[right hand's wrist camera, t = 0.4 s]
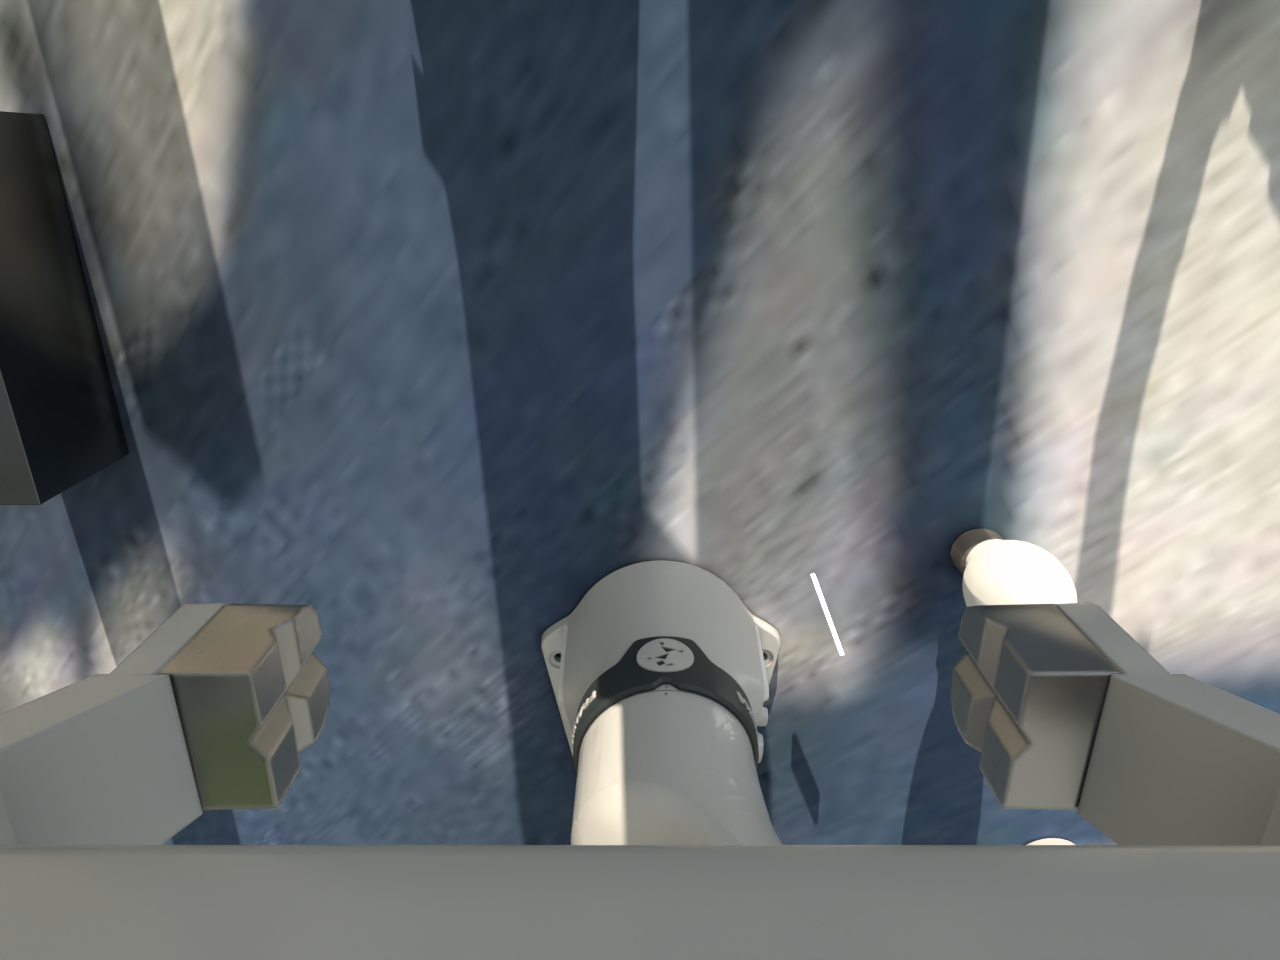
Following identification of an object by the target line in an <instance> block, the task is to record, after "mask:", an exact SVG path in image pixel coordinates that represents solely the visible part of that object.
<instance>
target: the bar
mask: <svg viewBox="0 0 1280 960" xmlns="http://www.w3.org/2000/svg"><path fill="white" fill-rule="evenodd" d="M128 453H129V452H128V448H127V444H126V440H125V436H124V432H123V428H122V424H121V420H120V416H119V412H118V408H117V404H116V400H115V396H114V392H113V388H112V384H111V380H110V376H109V372H108V368H107V364H106V360H105V356H104V352H103V348H102V344H101V340H100V336H99V332H98V328H97V324H96V320H95V316H94V312H93V308H92V304H91V300H90V296H89V292H88V288H87V284H86V280H85V276H84V272H83V268H82V264H81V260H80V256H79V252H78V248H77V244H76V240H75V236H74V232H73V228H72V224H71V220H70V216H69V212H68V208H67V204H66V200H65V196H64V192H63V188H62V184H61V180H60V176H59V172H58V168H57V164H56V160H55V156H54V152H53V148H52V144H51V140H50V136H49V133H48V129H47V125H46V121H45V117H44V115H42V114H28V113H15V112H2V111H0V505H40V504H42V503H44V502H46V501H47V500H49V499H51V498H53V497H54V496H56V495H58V494H60V493H61V492H63V491H65V490H66V489H68V488H70V487H72V486H73V485H75V484H77V483H79V482H80V481H82V480H84V479H86V478H87V477H89V476H91V475H92V474H94V473H96V472H98V471H99V470H101V469H103V468H105V467H106V466H108V465H110V464H112V463H113V462H115V461H117V460H118V459H120V458H122V457H124V456H125V455H127V454H128Z"/></svg>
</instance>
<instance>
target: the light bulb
mask: <svg viewBox="0 0 1280 960" xmlns="http://www.w3.org/2000/svg"><path fill="white" fill-rule="evenodd" d="M951 558H952V561H953V563H954V564H955V566H956V567H957V568H958V569H959V571H960V572H961V573H962V575H963V584H962V587H963V595H964V599H965V602H966V605H967V607H969V606H976V605H1015V604H1065V603H1077V594H1076V589H1075V586H1074V583H1073V581H1072V579H1071V577H1070V575H1069V573H1068V571H1067V570H1066V569H1065V567H1064V566H1063V565H1062V564H1061V563H1060V562H1059V561H1058V560H1057V558H1055V557H1054V556H1053V555H1051V554H1050V553H1049V552H1047V551H1046V550H1044V549H1043V548H1041V547H1038V546H1036V545H1033V544H1031V543H1028V542H1024V541H1017V540H1004V539H1003V538H1002V537H1001V536H1000V535H999V534H998V533H996V532H994V531H992V530H988V529H974V530H970V531H968V532H966V533H964V534H962V535H961V536H960V537H958V538H957V540H956V541H955V542H954V544H953V546H952V549H951Z"/></svg>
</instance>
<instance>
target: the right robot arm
mask: <svg viewBox="0 0 1280 960" xmlns="http://www.w3.org/2000/svg"><path fill="white" fill-rule="evenodd" d="M810 575H811V577H812V580H813V583H814V586H815V588H816V591H817V594H818V597H819V599H820V602H821V605H822V607H823V610H824V613H825V616H826V618H827V621H828V624H829V627H830V629H831V632H832V635H833V637H834V640H835V643H836V646H837V648H838V651H839V653H840V656H842V655H844V652H843V649H842V647H841V644H840V641H839V638H838V636H837V633H836V630H835V627H834V625H833V622H832V619H831V616H830V614H829V611H828V608H827V605H826V603H825V600H824V597H823V594H822V592H821V589H820V586H819V583H818V581H817V578H816V576H815V573H813V574H810ZM321 637H322V634H321V629H320V624H319V619H318V615H317V612H316V611H315V610H314V609H313V608H312V607H311V606H310V605H284V604H229V603H196V604H186V605H182V606H181V607H180V608H179V609H178V610H177V611H176V612H175V613H174V614H173V615H172V616H171V617H169V618H168V619H167V620H166V621H165V622H164V623H163V624H162V625H161V626H160V627H159V628H158V629H157V630H156V631H155V632H154V633H152V634H151V635H150V636H149V637H148V638H147V639H146V640H145V641H144V642H143V643H142V644H141V645H140V646H139V647H138V648H137V649H135V650H134V651H133V652H132V653H131V654H130V655H129V656H128V657H127V658H126V659H125V660H124V661H123V662H122V663H121V664H120V665H119V666H117V667H116V668H115V669H114V670H113V671H112V672H111V673H110V674H95V675H93V676H91V677H88V678H86V679H83V680H81V681H79V682H76V683H74V684H71V685H69V686H67V687H64V688H62V689H59V690H57V691H55V692H52V693H50V694H47V695H45V696H43V697H40V698H38V699H35V700H33V701H31V702H28V703H26V704H23V705H21V706H19V707H16V708H14V709H11V710H9V711H7V712H4V713H2V714H0V960H1280V714H1278V713H1276V712H1273V711H1271V710H1268V709H1266V708H1264V707H1261V706H1259V705H1256V704H1254V703H1252V702H1249V701H1247V700H1244V699H1242V698H1240V697H1237V696H1235V695H1232V694H1230V693H1228V692H1225V691H1223V690H1220V689H1218V688H1216V687H1213V686H1211V685H1209V684H1206V683H1204V682H1201V681H1199V680H1197V679H1194V678H1192V677H1189V676H1187V675H1185V674H1170V673H1169V672H1168V671H1167V670H1166V669H1165V668H1164V667H1163V666H1162V665H1160V664H1159V663H1158V662H1157V661H1156V660H1155V659H1154V658H1153V657H1152V656H1151V655H1150V654H1149V653H1148V652H1147V651H1146V650H1145V649H1144V648H1143V647H1141V646H1140V645H1139V644H1138V643H1137V642H1136V641H1135V640H1134V639H1133V638H1132V637H1131V636H1130V635H1129V634H1128V633H1127V632H1126V631H1125V630H1123V629H1122V628H1121V627H1120V626H1119V625H1118V624H1117V623H1116V622H1115V621H1114V620H1113V619H1112V618H1111V617H1110V616H1109V615H1108V614H1107V613H1106V612H1104V611H1103V610H1102V609H1101V608H1100V607H1099V606H1097V605H1094V604H1091V603H1065V604H1015V605H976V606H969V607H966V609H965V612H964V614H963V616H962V618H961V623H960V628H959V634H958V637H959V639H960V640H961V642H962V643H963V645H964V646H965V648H966V649H967V651H968V652H967V653H966V654H965V655H964V656H963V657H962V658H961V659H960V660H959V662H958V663H957V664H956V665H955V666H954V667H953V672H952V680H951V688H950V694H951V705H952V713H953V717H954V720H955V723H956V726H957V729H958V731H959V732H960V734H961V736H962V738H963V740H964V742H965V743H967V744H968V745H970V746H972V747H973V748H975V749H976V750H978V751H979V752H981V753H982V754H981V760H980V766H979V768H980V770H981V772H982V774H983V775H984V777H985V779H986V781H987V782H988V784H989V786H990V787H991V789H992V791H993V793H994V794H995V796H996V798H997V800H998V801H999V803H1000V805H1001V807H1002V808H1015V809H1052V810H1078V811H1077V814H1078V815H1080V816H1081V817H1082V818H1084V819H1085V820H1086V821H1088V822H1089V823H1090V824H1092V825H1093V826H1094V827H1096V828H1097V829H1098V830H1099V831H1101V832H1102V833H1103V834H1105V835H1106V836H1107V837H1109V838H1110V839H1111V840H1113V841H1114V842H1115V843H1117V844H1118V845H782V843H781V842H780V840H779V838H778V837H777V835H776V833H775V831H774V829H773V826H772V824H771V821H770V817H769V814H768V811H767V808H766V805H765V802H764V798H763V795H762V791H761V787H760V784H759V780H758V775H757V768H758V763H760V762H761V760H762V756H763V747H764V742H763V736H762V734H760V733H758V731H757V726H766V725H767V721H768V709H767V708H766V707H763V704H764V701H767V700H768V699H769V684H770V681H771V677H772V674H773V671H774V667H775V664H776V661H777V657H778V654H779V651H780V646H781V644H780V635H779V633H778V632H777V630H776V629H775V628H773V627H772V626H771V625H769V624H768V623H766V622H765V621H763V620H761V619H760V618H758V617H756V616H754V615H753V614H752V613H751V612H750V611H749V610H748V609H747V608H746V607H745V605H744V604H743V602H742V601H741V600H740V598H739V597H738V595H737V594H736V593H735V592H734V591H733V590H732V588H731V587H730V586H728V585H727V584H726V583H725V582H724V581H723V580H721V579H720V578H719V577H717V576H715V575H714V574H712V573H710V572H709V571H707V570H704V569H702V568H700V567H697V566H694V565H691V564H687V563H683V562H677V561H668V560H656V561H646V562H640V563H636V564H632V565H629V566H626V567H623V568H621V569H619V570H616V571H614V572H613V573H611V574H609V575H607V576H606V577H604V578H603V579H601V580H600V581H599V582H598V583H596V584H595V585H594V586H593V587H592V588H591V589H590V590H589V591H588V592H587V593H586V595H585V596H584V597H583V599H582V600H581V601H580V603H579V604H578V606H577V607H576V608H575V610H574V611H573V612H572V613H571V614H570V615H569V616H567V617H565V618H563V619H562V620H560V621H558V622H557V623H555V624H553V625H552V626H550V627H549V628H548V629H547V630H546V631H545V632H544V633H543V635H542V638H541V648H542V652H543V656H544V659H545V663H546V666H547V670H548V673H549V677H550V680H551V683H552V687H553V690H554V694H555V697H556V701H557V704H558V708H559V711H560V715H561V718H562V722H563V725H564V729H565V732H566V735H567V739H568V742H569V746H570V749H571V753H572V756H573V764H574V771H575V774H576V777H577V782H576V792H575V802H574V813H573V823H572V833H571V845H162V844H164V843H165V842H166V841H168V840H169V839H170V838H172V837H173V836H174V835H176V834H177V833H178V832H179V831H181V830H182V829H183V828H185V827H186V826H187V825H189V824H190V823H191V822H193V821H194V820H195V819H197V818H198V817H199V816H201V815H202V814H203V812H202V810H227V809H263V808H278V807H279V805H280V803H281V801H282V800H283V798H284V796H285V795H286V793H287V791H288V789H289V788H290V786H291V784H292V782H293V781H294V779H295V777H296V775H297V774H298V772H299V770H300V768H301V766H300V760H299V754H298V753H299V752H301V751H302V750H304V749H305V748H307V747H308V746H310V745H312V744H313V743H315V742H316V740H317V738H318V736H319V734H320V732H321V730H322V729H323V727H324V724H325V719H326V715H327V711H328V706H329V678H328V671H327V667H326V666H325V665H324V664H323V663H322V662H321V660H320V659H319V658H318V657H317V656H316V655H315V654H314V653H313V652H312V651H313V649H314V648H315V646H316V645H317V643H318V642H319V640H320V639H321ZM763 652H764V653H766V654H765V655H764V656H763ZM557 653H561V657H557V656H556V655H555V654H557Z"/></svg>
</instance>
